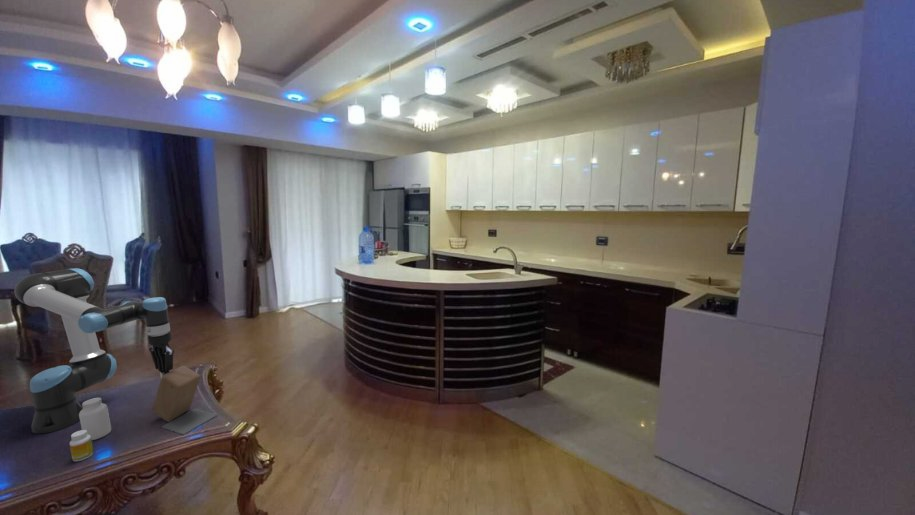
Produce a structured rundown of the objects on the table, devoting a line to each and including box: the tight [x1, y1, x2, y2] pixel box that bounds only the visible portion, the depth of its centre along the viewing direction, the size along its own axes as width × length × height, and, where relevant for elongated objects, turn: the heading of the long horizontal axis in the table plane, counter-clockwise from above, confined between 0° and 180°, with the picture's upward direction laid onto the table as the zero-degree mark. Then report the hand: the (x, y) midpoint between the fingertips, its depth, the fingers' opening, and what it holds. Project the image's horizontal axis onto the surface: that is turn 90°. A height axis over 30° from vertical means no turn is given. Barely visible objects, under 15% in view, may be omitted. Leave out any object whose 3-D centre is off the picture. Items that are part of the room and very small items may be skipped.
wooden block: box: [151, 365, 201, 423], centre depth 151 cm, size 10×10×20 cm
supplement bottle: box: [69, 429, 94, 462], centre depth 128 cm, size 5×5×10 cm
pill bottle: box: [79, 397, 112, 441], centre depth 140 cm, size 8×8×15 cm
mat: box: [160, 407, 218, 436], centre depth 150 cm, size 14×14×1 cm
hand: (166, 384), depth 152 cm, fingers closed
